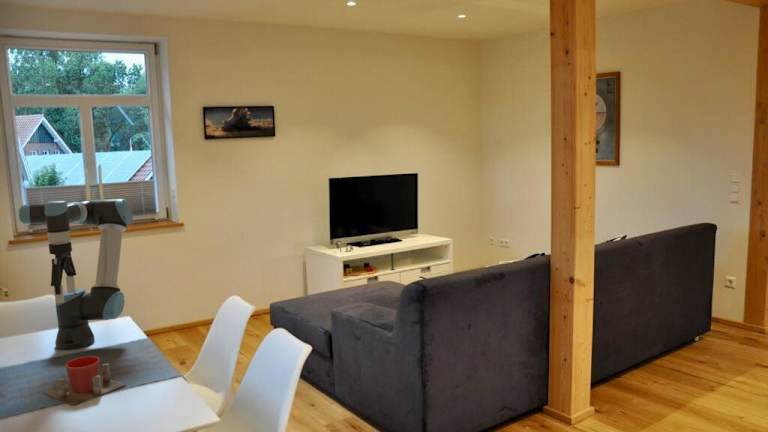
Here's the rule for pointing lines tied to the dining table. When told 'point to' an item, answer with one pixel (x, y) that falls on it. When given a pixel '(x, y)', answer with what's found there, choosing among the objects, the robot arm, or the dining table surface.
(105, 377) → the plant stand
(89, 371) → the flower pot
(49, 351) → the dining table surface
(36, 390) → the dining table surface
